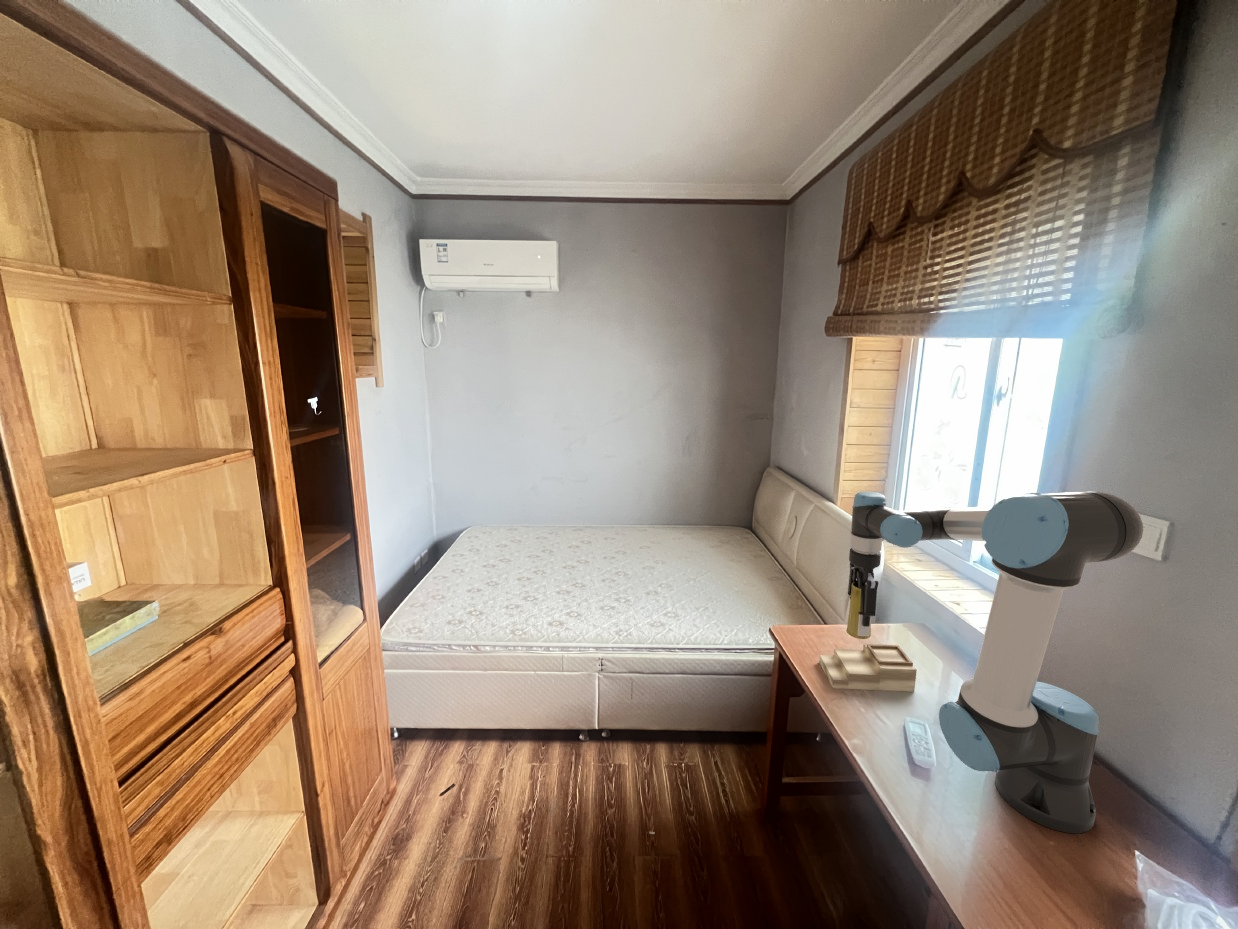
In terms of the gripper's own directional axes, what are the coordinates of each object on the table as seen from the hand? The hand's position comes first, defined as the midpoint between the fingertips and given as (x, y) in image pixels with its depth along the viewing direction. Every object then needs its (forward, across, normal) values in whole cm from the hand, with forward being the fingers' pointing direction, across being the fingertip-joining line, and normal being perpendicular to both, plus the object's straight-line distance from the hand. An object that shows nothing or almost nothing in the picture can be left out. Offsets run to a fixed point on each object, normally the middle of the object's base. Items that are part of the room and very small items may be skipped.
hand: (858, 629), depth 137 cm
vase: (+2, 0, 0) cm, 2 cm away
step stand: (+14, 0, -2) cm, 14 cm away
